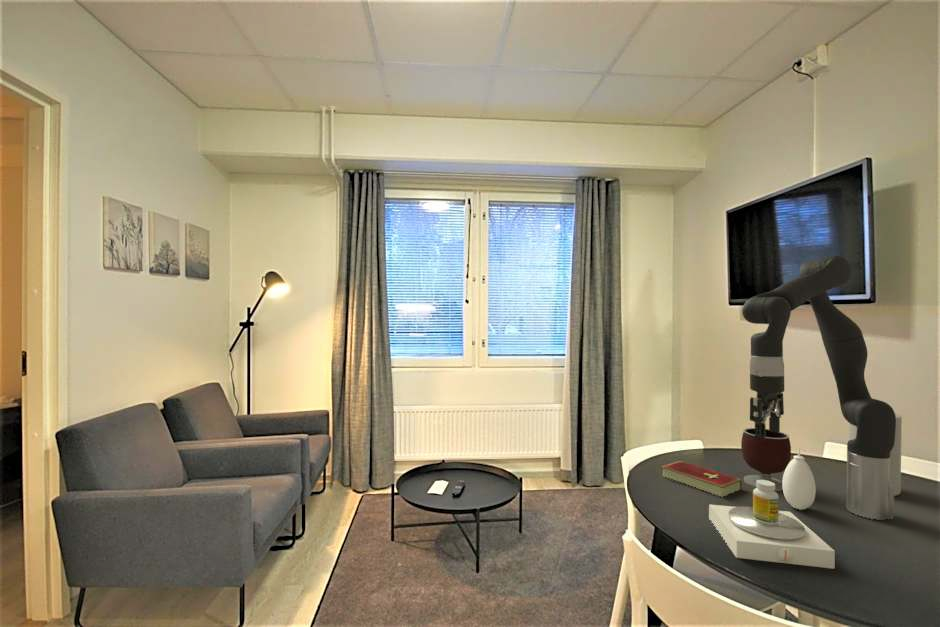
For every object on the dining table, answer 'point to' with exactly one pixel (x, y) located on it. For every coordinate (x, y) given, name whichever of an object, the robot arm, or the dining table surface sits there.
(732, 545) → the scale base
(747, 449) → the mate gourd
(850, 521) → the dining table surface
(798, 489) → the white rubber air blower
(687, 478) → the hardcover book
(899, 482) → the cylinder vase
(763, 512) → the supplement bottle
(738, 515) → the scale pan
